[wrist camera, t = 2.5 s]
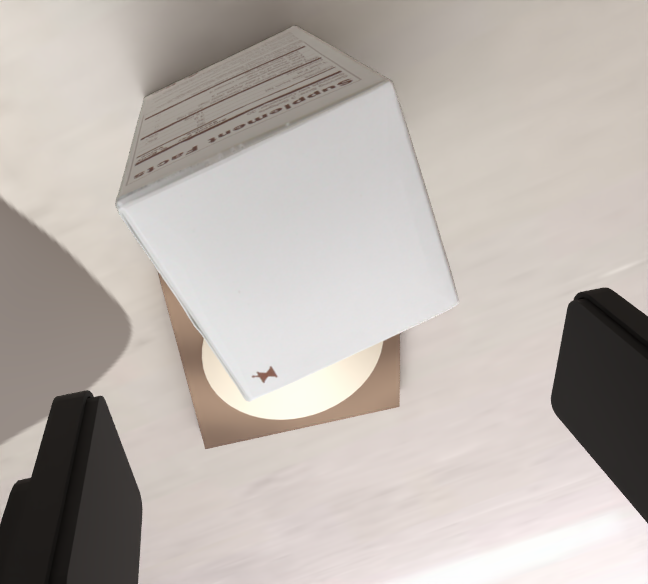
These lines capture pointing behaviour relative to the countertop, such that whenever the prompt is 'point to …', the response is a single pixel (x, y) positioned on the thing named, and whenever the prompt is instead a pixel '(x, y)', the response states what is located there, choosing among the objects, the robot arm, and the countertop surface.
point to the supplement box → (286, 209)
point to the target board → (287, 402)
